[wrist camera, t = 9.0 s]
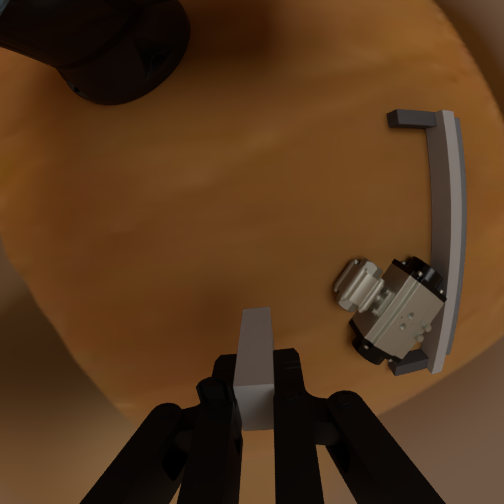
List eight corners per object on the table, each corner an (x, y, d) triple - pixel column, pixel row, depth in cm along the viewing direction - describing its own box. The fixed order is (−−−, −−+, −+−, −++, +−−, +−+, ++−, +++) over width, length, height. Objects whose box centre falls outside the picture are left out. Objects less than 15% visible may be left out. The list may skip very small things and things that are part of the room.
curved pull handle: (387, 113, 26) (403, 106, 22) (454, 119, 26) (474, 114, 22) (388, 365, 33) (398, 383, 29) (446, 350, 33) (460, 365, 29)
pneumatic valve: (370, 223, 29) (439, 279, 31) (308, 313, 32) (383, 355, 33) (392, 232, 24) (464, 295, 25) (317, 338, 26) (399, 380, 28)
